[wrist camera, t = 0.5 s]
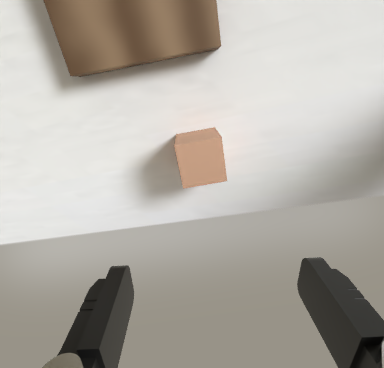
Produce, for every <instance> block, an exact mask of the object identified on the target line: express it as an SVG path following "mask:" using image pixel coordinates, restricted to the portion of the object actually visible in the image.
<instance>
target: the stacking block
mask: <svg viewBox="0 0 384 368" xmlns="http://www.w3.org/2000/svg"><path fill="white" fill-rule="evenodd" d="M174 147H175V152H176V156H177V161H178V166H179V171H180V175H181V180H182V185H183V188H189V187H195V186H201V185H207V184H212V183H218V182H224V181H227V176H226V168H225V160H224V153H223V145H222V137H221V136H220V134H219V133H218V131H217V130H216V128H215V127H214V128H209V129H203V130H198V131H192V132H187V133H181V134H176V139H175V144H174Z"/></svg>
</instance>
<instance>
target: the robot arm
mask: <svg viewBox="0 0 384 368" xmlns="http://www.w3.org/2000/svg"><path fill="white" fill-rule="evenodd" d="M297 285H298V291H299V295H300V297H301V299H302V301H303V303H304V305H305V306H306V308H307V310H308V312H309V314H310V316H311V318H312V319H313V321H314V323H315V325H316V327H317V329H318V331H319V333H320V334H321V336H322V338H323V340H324V342H325V344H326V346H327V347H328V349H329V351H330V353H331V355H332V357H333V358H334V360H335V362H336V364H337V366H338V368H384V320H383V319H382V318H381V317H380V315H379V314H378V313H377V312H376V311H375V309H374V308H373V307H372V306H371V305H370V303H369V302H368V301H367V300H365V299H364V296H363V295H362V294H361V293H360V291H358V290H357V288H356V287H355V286H354V284H353V283H352V282H351V281H350V280H349V278H348V277H346V276H345V275H343V274H342V273H341V272H339V271H338V270H337V269H331V268H330V267H329V265H328V264H327V263H326V261H325V260H324V259H323V258H320V257H319V258H304V259H303V260H302V263H301V268H300V273H299V278H298V284H297ZM133 299H134V289H133V284H132V278H131V273H130V268H129V266H112V267H111V268H110V270H109V272H108V274H107V277H106V279H98V280H97V281H96V282H95V284H94V285H93V286H92V287H91V288H90V289H89V291H88V293H87V295H86V297H85V300H84V302H83V304H82V306H81V308H80V312H78V314H77V316H76V319H75V321H74V323H73V325H72V327H71V329H70V331H69V333H68V336H67V338H66V340H65V342H64V344H63V346H62V348H61V350H60V352H59V354H58V355H57V356H56V357H54V358H53V359H52V360H50V361H49V362H48V363H46V364H45V365H44V367H43V368H118V363H119V359H120V355H121V351H122V347H123V343H124V339H125V335H126V330H127V326H128V322H129V318H130V314H131V310H132V306H133Z"/></svg>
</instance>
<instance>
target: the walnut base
mask: <svg viewBox="0 0 384 368" xmlns="http://www.w3.org/2000/svg"><path fill="white" fill-rule="evenodd" d="M44 3H45V5H46V8H47V11H48V14H49V17H50V19H51V22H52V25H53V28H54V31H55V33H56V36H57V39H58V42H59V45H60V48H61V50H62V53H63V56H64V59H65V62H66V64H67V67H68V70H69V73H70V76H79V77H81V76H86V75H91V74H96V73H101V72H106V71H111V70H116V69H121V68H126V67H131V66H136V65H141V64H146V63H151V62H156V61H161V60H166V59H171V58H176V57H181V56H186V55H191V54H196V53H201V52H206V51H211V50H216V49H219V47H220V46H221V40H220V31H219V22H218V12H217V3H216V0H44Z"/></svg>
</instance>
